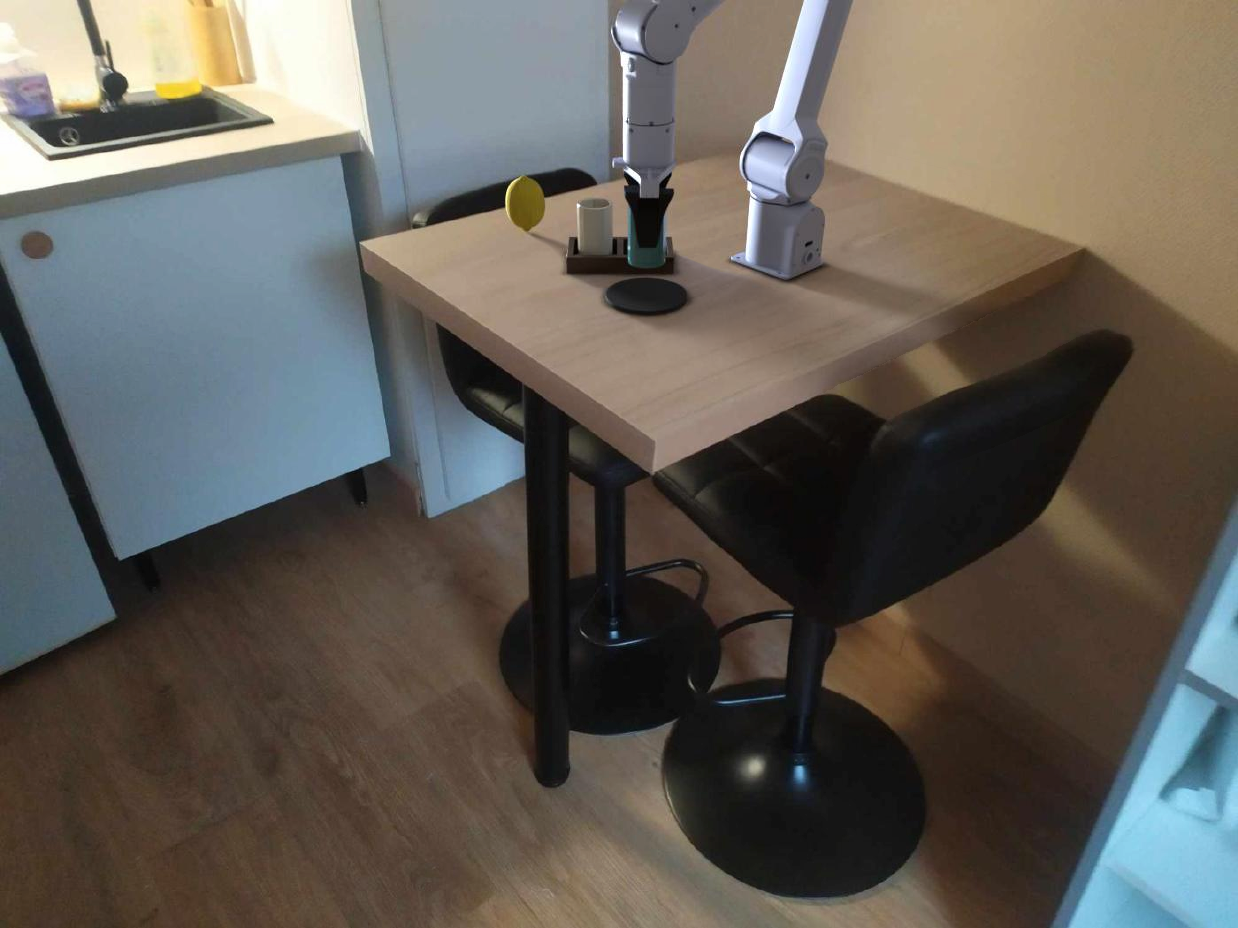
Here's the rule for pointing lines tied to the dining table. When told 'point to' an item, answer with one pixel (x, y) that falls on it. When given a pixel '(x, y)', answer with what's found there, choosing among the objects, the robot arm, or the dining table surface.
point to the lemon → (525, 203)
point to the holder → (613, 259)
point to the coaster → (646, 296)
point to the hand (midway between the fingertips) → (647, 238)
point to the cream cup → (595, 226)
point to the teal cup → (646, 255)
